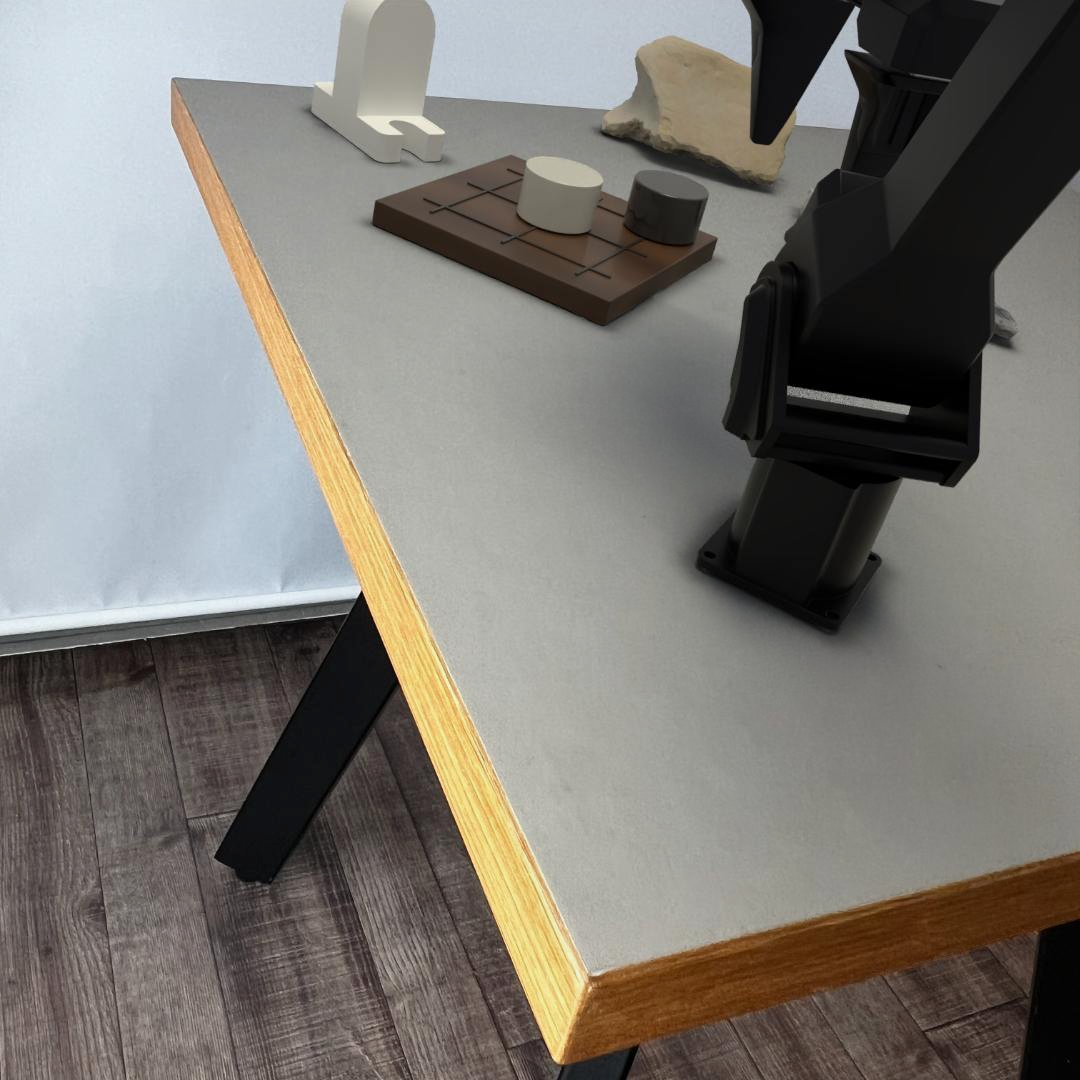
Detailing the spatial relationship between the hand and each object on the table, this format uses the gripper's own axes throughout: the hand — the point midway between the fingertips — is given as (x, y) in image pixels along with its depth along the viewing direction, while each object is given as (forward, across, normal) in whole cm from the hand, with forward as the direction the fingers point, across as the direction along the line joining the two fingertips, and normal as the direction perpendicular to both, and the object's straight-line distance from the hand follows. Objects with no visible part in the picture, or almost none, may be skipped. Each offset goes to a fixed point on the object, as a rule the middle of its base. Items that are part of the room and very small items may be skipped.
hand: (798, 178), depth 58 cm
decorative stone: (+12, -39, +13) cm, 43 cm away
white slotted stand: (+12, -35, -13) cm, 39 cm away
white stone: (+10, -19, -4) cm, 22 cm away
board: (+12, -19, -4) cm, 23 cm away
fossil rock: (+12, -20, +22) cm, 32 cm away
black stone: (+10, -19, +3) cm, 22 cm away
